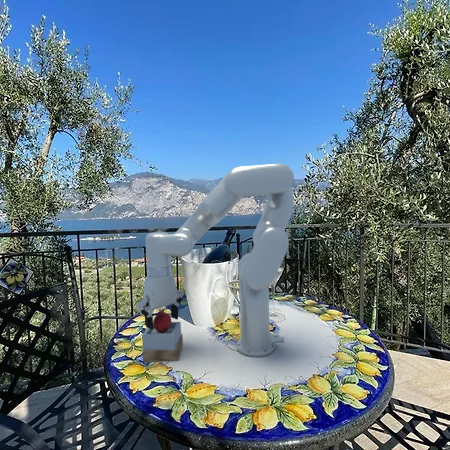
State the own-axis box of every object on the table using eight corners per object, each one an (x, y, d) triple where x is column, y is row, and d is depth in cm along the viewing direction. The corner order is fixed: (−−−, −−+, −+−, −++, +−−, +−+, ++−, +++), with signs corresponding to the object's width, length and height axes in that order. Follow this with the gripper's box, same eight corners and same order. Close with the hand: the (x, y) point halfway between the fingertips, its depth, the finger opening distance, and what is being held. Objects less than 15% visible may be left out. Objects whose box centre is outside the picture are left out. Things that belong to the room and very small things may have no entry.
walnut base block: (182, 345, 107) (182, 334, 106) (178, 362, 96) (178, 349, 95) (151, 346, 107) (150, 335, 106) (143, 363, 96) (142, 351, 95)
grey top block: (181, 335, 106) (180, 321, 105) (174, 349, 96) (173, 335, 95) (152, 335, 106) (151, 321, 106) (143, 350, 96) (142, 335, 96)
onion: (167, 338, 97) (166, 313, 96) (150, 336, 98) (149, 312, 97) (174, 330, 103) (173, 306, 102) (158, 329, 104) (157, 306, 103)
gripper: (174, 264, 107) (177, 312, 109) (128, 275, 95) (132, 328, 96) (188, 267, 102) (190, 317, 104) (141, 279, 89) (145, 335, 91)
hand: (162, 323), depth 100 cm, fingers open, 9 cm apart
